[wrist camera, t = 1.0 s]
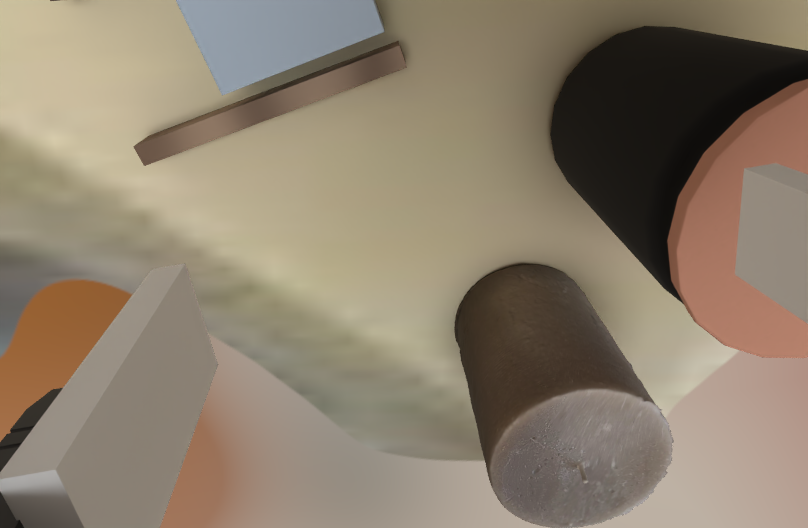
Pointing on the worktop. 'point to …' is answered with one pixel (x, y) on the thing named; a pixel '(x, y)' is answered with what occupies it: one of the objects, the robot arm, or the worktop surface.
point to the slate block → (274, 34)
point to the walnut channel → (271, 103)
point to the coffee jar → (687, 163)
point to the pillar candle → (556, 402)
